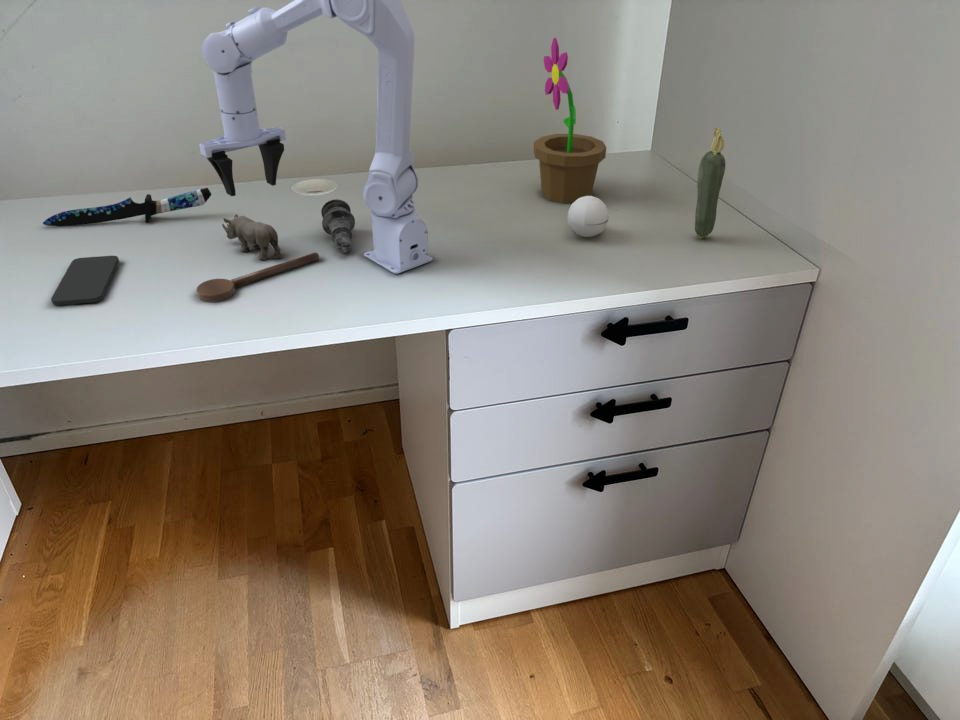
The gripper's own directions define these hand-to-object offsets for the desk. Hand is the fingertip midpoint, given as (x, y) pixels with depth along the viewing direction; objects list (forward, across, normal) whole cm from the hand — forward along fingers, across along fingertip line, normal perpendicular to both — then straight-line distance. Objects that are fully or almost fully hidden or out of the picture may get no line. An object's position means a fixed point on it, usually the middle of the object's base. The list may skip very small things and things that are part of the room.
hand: (251, 189), depth 133 cm
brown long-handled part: (+9, +8, +14) cm, 19 cm away
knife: (+10, +14, -23) cm, 29 cm away
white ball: (+10, -47, +38) cm, 61 cm away
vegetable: (+10, -60, +52) cm, 80 cm away
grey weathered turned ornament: (+6, -13, +6) cm, 15 cm away
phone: (+9, +29, -3) cm, 31 cm away
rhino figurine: (+10, +3, +3) cm, 11 cm away
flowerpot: (+10, -58, +21) cm, 62 cm away
